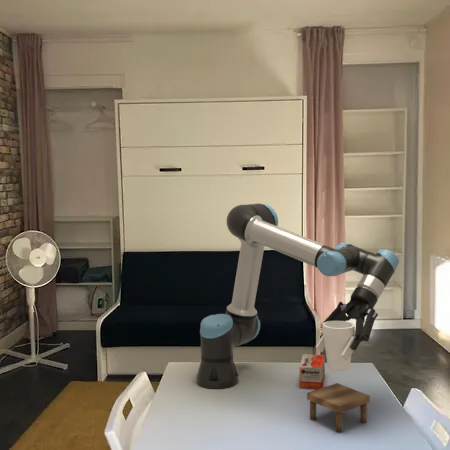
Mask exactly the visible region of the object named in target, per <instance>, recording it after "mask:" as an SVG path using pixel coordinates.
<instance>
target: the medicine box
mask: <svg viewBox="0 0 450 450" xmlns="http://www.w3.org/2000/svg"><path fill="white" fill-rule="evenodd" d="M325 356H326V354H325V355H324V354H309V353H307V354H305V353H303V354H302V356H301V361H300V364H299V388H300V389H307V390H309V389H311V390H317V389H320V388H323V387H324V381H325V375H326V374H325V372H326V370H325V367H326V363H325V361H326V360H325Z"/></svg>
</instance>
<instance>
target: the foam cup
mask: <svg viewBox="0 0 450 450" xmlns="http://www.w3.org/2000/svg"><path fill="white" fill-rule="evenodd" d="M323 322H324V321H323ZM323 322H322V323H323ZM321 327H322V330H321V331H322V333H323V335H324V342H325V348H324V350H325V356H326V364H327V369H329V371H333V372H347V371H349V370H350V367H351V361H352V355H351V356H350V358H349V359H348V361H347V360H345V359H344V358H343V357H342V355H341V354H342V352H343V351H344V349H345V347H346V346H347V344H348V342H349V341H350V339H351V337H352V336H353V337H355V336H354V335H355V328H356V323H353V322H350V321H327V322H324V323H323V325H322V324H321Z"/></svg>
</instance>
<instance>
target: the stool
mask: <svg viewBox="0 0 450 450" xmlns="http://www.w3.org/2000/svg"><path fill="white" fill-rule="evenodd" d="M306 400H308V401H309V416H310V417H309V419H310V420H311V421H316V420H317V405H319V406H322V407H324V408H326V409H329V410H331V411H333V412H335V432H336V433H343V413H344V412H347V411H349V410H352V409H355V408H358V407H359V409H360V412H359V413H360V415H359V416H360V417H359V419H360V423H362V424H366V423H367V422H368V421H367V420H368V419H367V411H368V408H367V404H369V403H370V402H371V395H370V394H366V393H364V392H362V391H359V390H356V389H354V388H350V387H348V386H347V385H343V384H341V383H337V382H336V383H334V384H330V385H327V386H323V388H320V389H313V390H311V391H308V392H306Z"/></svg>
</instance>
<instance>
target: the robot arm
mask: <svg viewBox="0 0 450 450" xmlns="http://www.w3.org/2000/svg"><path fill="white" fill-rule="evenodd" d="M278 225H279V217H278V214H277V212H276V211H275V209H274V208H273V207H272V206H271V205H269V204H265V203H251V204H250V203H249V204H248V203H247V204H239V205H235V206H234V207H233V208H231V210H230V211H228V213H227V216H226V227H227V229H228V231H229V233H230V234H231V235H233V236H234V237H236V238H238V240H239V241H240V249H239V256H238V262H237V268H236V275H235V279H234V280H235V281H234V286H233V292H232V299H231V303H229V305H227V306H226V310H225V313H217V314H211V315H208V316H206V317H205V318H204V317H203V319H202V320H201V322H200V327H199V328H200V329H199V335H200V337H199V339H200V363H199V367H198V371H197V373H196V384H197V385H198V386H200V387H202V388H205V389H206V388H207V389H214V390H215V389H216V390H217V389H218V390H219V389H225V388H226V389H227V388H231V387H234V386H236V385H237V384H238V383H239V373H238V370H237V368H236V364H235V361H234V348H237V347H238V346H241V345H244V344H248V343H249V342H251V341H252V340H254V339H256V337H257V336H258V335H259V333H260V330H261V320H260V319H259V316H258V311H257V309H256V308H255V303H256V299H257V298H256V296H257V291H258V286H259V280H260V274H261V269H262V264H263V263H262V262H263V256H264V251H265V247H267V248H270V249H271V250H274V251H275V252H279V253H281V254H283V255H285V256H288V257H291V258H293V259H295V260H298V261H299V262H303V263H305V264H307V265H309V266H312V267H314V268H317V269H318V271H319V272H320V274H322V275H324V276H326V277H337V276H339V275H342V274H346V273H348V272H351V271H354V272H356V273H359V274H361V275H362V277H361V278H360V280H359V281H358V282H357V285H356V287H355V288H354V290H353V292H352V293H351V295H350V300H349V302H347V303H343V302H342V301H339V302H338V304H337V306H336V308H335V309H334V310H332V312H331V313H330V314H329V315H328V317H326V318H325V320H324V321H323V322H322V323H321V326H322V325H323V323H324V322H327V321H347V322H350V320H355V334H354V337H353V336H352V337H351V339H350V341H349V342H348V344H347V346H346V347H345V349H344V351H343V352H342V354H341V355H342V357H343V358H344V359H345V360H347V361H348V359H349V358H350V356H351V357H352V354H353V353H354V351H356V350H357V349H358V347H359V345H360V343H362V342H369V340H370V337H371V335H372V330H373V326H374V323H375V320H376V319H377V317H378V316H379V313H378V312H377V311H376V310H375V306H376V304H377V303H378V299H379V298H381V296H382V294H383V291H384V290H385V288H386V286H387V285H388V283H389V282H390V280H391V278H392V276H393V275H394V274H395V272H396V270H397V267H398V266H399V264H400V259H399V257H398V256H397V254H396V253H395V252H393V251H391V250H390V249H386V248H380V249H378V251H376V253H375V252H371V251H368V250H365V249H364V248H361V247H358V246H355V245H353V244H351V243H347V242H339V243H338V245H336V247H335V248H333V247H332V246H328V245H325V244H324V243H321V242H318V241H316V240H313V239H311V238H308V237H306V236H303V235H300V234H298V233H295V232H293V231H290V230H287V229H285V228H282V227H280V226H278ZM315 348H316V349H317V350H318V351H319V353H323V352H324V350H325V342H324V335H323V332H322V333H321V335H320V337H319V340H318V342H317V344H316V345H315Z"/></svg>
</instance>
